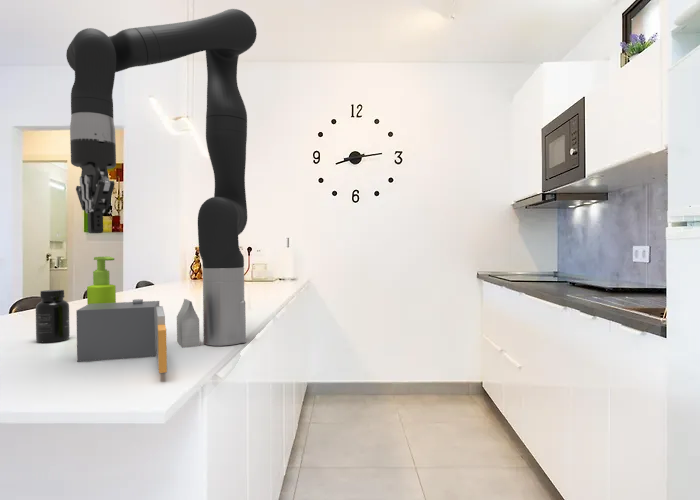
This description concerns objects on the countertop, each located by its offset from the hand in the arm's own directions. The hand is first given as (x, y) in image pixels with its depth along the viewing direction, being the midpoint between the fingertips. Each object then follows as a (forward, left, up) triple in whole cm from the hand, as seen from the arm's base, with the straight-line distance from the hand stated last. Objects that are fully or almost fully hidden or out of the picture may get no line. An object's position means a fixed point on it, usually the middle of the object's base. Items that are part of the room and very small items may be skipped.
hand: (95, 233), depth 89 cm
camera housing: (-3, -9, -25) cm, 27 cm away
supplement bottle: (+15, -29, -25) cm, 41 cm away
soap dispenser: (+3, -23, -25) cm, 34 cm away
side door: (-12, +6, -24) cm, 28 cm away
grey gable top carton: (-16, -14, -25) cm, 33 cm away
